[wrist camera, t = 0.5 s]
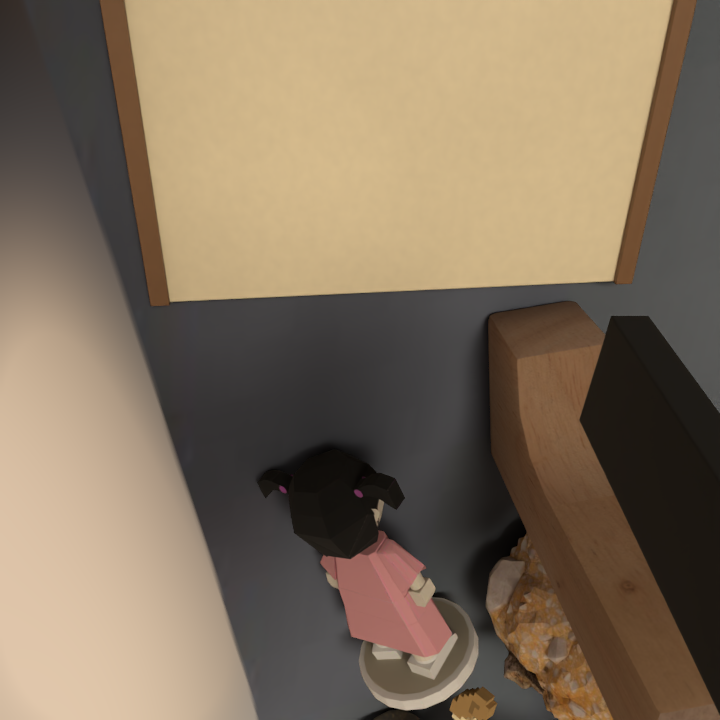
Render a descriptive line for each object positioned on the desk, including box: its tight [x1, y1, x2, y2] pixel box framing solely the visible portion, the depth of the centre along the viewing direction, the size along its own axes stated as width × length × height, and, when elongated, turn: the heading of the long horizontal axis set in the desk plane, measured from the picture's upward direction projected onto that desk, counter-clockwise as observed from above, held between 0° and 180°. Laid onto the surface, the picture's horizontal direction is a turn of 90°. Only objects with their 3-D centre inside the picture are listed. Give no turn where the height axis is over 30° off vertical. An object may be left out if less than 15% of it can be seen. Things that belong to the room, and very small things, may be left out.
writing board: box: [100, 0, 697, 306], centre depth 28 cm, size 12×22×1 cm, turn 90°
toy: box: [257, 449, 478, 711], centre depth 37 cm, size 8×7×15 cm
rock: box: [486, 533, 613, 720], centre depth 37 cm, size 14×12×15 cm
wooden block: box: [488, 301, 720, 720], centre depth 28 cm, size 9×4×18 cm, turn 7°
